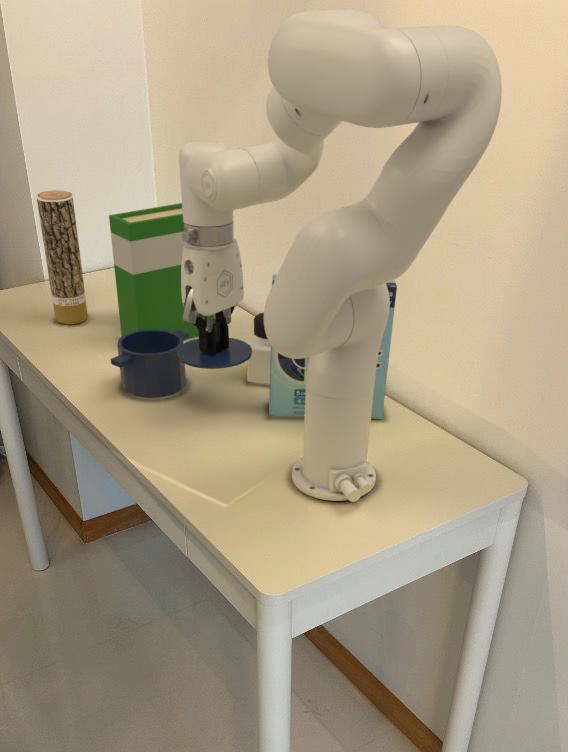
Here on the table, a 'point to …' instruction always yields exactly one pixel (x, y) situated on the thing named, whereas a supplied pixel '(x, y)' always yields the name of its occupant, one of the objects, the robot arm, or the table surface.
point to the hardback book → (149, 269)
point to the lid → (222, 358)
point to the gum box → (292, 373)
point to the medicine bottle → (259, 354)
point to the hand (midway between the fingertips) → (214, 349)
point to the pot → (151, 362)
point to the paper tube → (62, 256)
